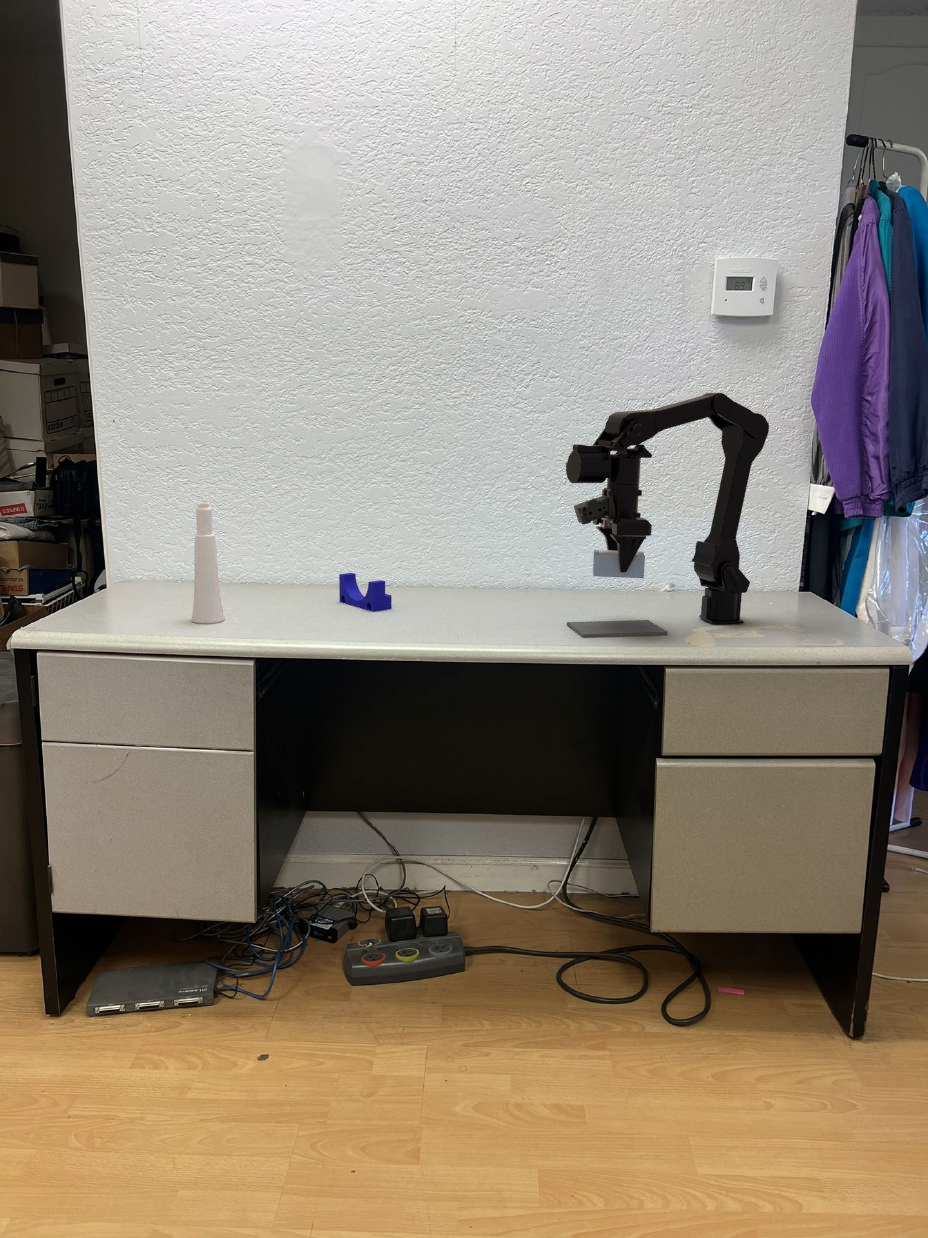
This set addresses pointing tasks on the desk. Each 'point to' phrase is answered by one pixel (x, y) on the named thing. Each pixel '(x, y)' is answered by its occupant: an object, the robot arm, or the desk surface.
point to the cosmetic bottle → (206, 571)
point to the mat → (616, 628)
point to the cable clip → (372, 599)
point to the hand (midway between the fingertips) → (618, 569)
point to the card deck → (617, 565)
